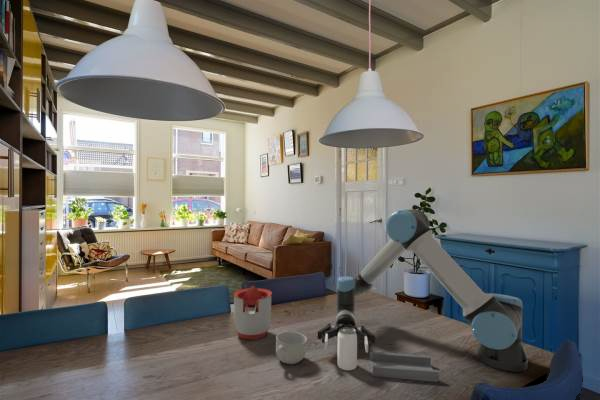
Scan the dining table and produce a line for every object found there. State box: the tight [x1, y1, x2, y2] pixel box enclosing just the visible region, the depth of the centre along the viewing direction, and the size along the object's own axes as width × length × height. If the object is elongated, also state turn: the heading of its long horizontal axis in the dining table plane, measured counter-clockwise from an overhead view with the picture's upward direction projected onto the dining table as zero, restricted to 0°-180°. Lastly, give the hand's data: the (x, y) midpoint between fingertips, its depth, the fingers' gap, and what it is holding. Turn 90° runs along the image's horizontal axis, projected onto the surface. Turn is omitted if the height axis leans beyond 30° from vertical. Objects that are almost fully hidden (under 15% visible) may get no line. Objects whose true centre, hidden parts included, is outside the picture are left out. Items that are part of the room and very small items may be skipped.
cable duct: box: [369, 351, 440, 383], centre depth 108 cm, size 20×10×3 cm, turn 83°
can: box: [336, 327, 358, 372], centre depth 110 cm, size 6×6×12 cm
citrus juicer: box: [233, 285, 273, 340], centre depth 134 cm, size 16×17×20 cm
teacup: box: [275, 331, 308, 365], centre depth 113 cm, size 14×11×8 cm
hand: (346, 347), depth 109 cm, fingers open, 13 cm apart
